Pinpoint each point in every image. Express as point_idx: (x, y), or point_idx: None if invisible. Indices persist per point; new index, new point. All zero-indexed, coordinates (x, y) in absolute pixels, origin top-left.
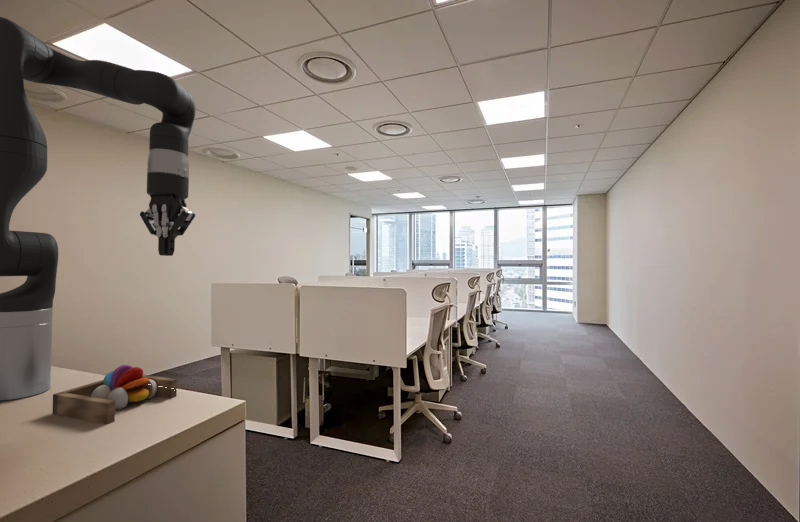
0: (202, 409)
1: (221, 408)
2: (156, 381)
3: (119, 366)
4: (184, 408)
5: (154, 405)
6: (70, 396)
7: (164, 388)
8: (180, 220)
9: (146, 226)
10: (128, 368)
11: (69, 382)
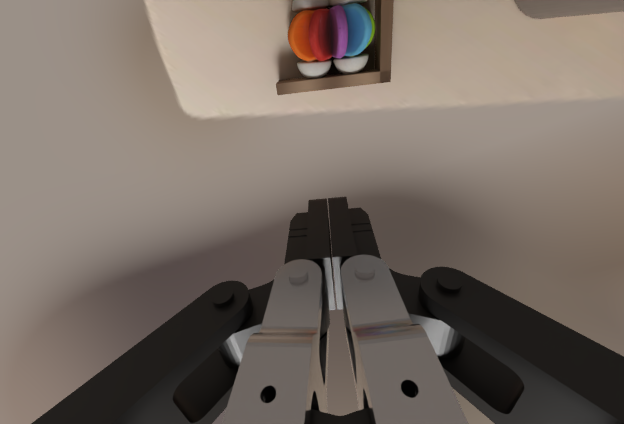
0: (196, 68)
1: (178, 84)
2: (310, 79)
3: (343, 24)
4: (222, 59)
5: (273, 45)
6: None
7: (292, 80)
8: (60, 412)
9: (557, 322)
10: (336, 41)
11: (517, 53)
